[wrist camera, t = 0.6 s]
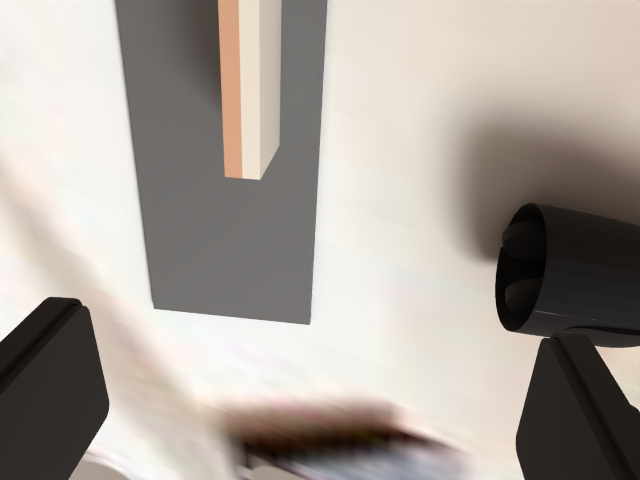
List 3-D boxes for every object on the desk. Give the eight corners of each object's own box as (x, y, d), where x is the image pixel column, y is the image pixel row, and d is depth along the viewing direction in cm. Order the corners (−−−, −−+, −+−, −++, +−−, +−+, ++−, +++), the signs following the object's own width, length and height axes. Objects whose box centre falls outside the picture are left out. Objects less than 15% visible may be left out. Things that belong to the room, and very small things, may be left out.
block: (247, -9, 33) (217, -3, 27) (281, -6, 33) (259, -1, 27) (249, 142, 38) (224, 176, 31) (279, 145, 37) (260, 179, 31)
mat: (117, -17, 34) (113, -17, 33) (327, -4, 33) (326, -4, 33) (156, 305, 46) (154, 308, 46) (310, 321, 45) (309, 324, 45)
